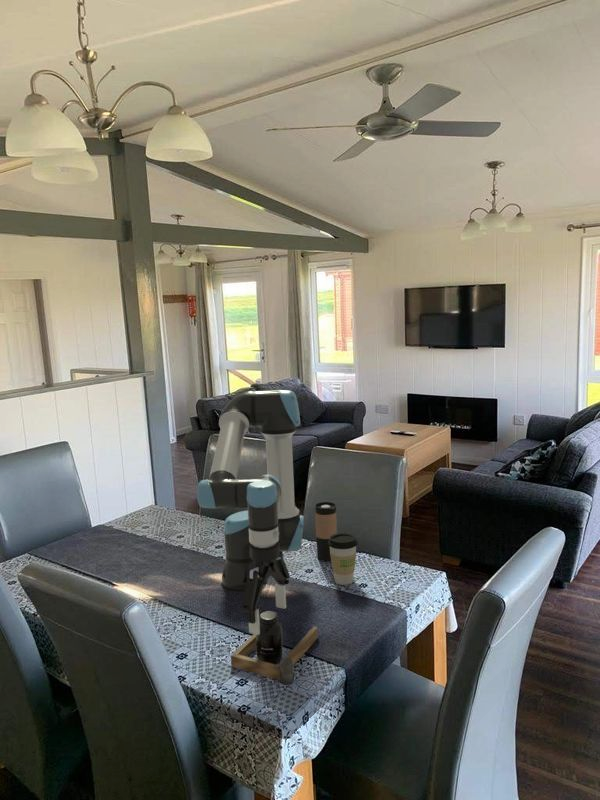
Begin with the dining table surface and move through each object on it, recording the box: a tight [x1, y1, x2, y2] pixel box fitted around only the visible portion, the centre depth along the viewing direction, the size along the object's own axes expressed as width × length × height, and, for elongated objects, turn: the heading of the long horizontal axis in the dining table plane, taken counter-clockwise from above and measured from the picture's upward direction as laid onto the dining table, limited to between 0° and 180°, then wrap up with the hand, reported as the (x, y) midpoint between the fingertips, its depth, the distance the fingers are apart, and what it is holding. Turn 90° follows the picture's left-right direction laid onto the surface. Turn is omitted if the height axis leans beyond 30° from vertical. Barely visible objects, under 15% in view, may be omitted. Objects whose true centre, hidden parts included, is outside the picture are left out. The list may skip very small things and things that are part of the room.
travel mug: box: [314, 501, 338, 563], centre depth 213 cm, size 8×8×20 cm
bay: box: [230, 626, 319, 685], centre depth 154 cm, size 17×22×5 cm
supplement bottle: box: [255, 610, 284, 665], centre depth 152 cm, size 7×7×12 cm
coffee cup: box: [328, 532, 359, 586], centre depth 194 cm, size 10×10×15 cm
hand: (268, 619), depth 151 cm, fingers open, 13 cm apart
